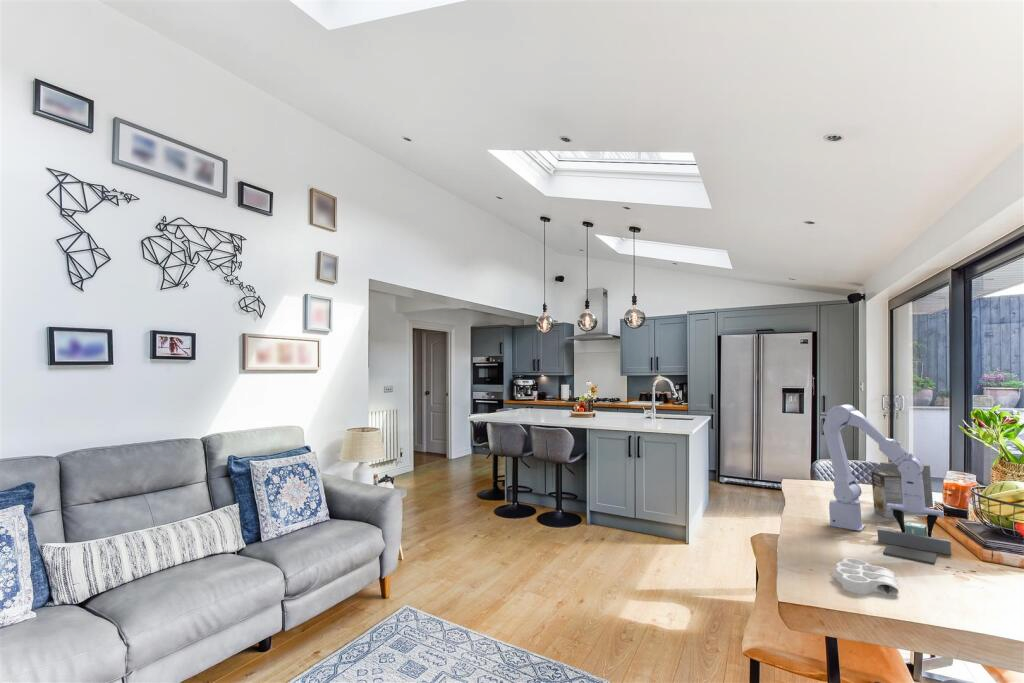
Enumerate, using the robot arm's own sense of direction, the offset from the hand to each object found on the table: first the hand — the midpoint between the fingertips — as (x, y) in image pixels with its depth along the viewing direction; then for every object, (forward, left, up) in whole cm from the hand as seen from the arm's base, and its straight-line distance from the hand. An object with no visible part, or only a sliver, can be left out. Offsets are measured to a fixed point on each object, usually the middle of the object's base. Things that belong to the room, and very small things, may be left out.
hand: (916, 535), depth 161 cm
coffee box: (-11, +27, -2) cm, 29 cm away
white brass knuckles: (-7, -48, -2) cm, 49 cm away
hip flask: (-7, +44, -2) cm, 45 cm away
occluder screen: (0, -9, -1) cm, 9 cm away
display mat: (0, -18, -1) cm, 18 cm away
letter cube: (0, 0, -2) cm, 2 cm away
